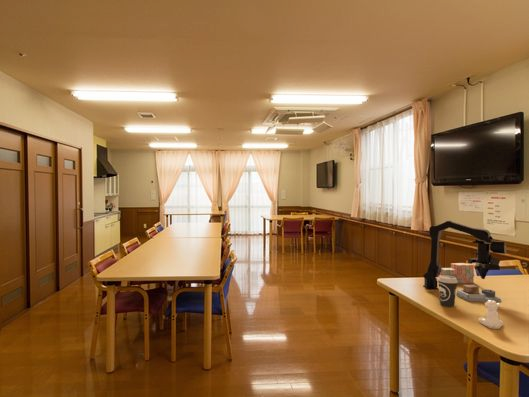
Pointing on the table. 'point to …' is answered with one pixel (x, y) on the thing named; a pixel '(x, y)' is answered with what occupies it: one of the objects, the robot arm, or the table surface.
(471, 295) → the light gray tray
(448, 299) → the coffee cup
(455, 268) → the stack of blocks
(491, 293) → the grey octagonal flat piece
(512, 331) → the table surface
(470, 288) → the brown wooden block
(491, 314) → the sitting furry creature
